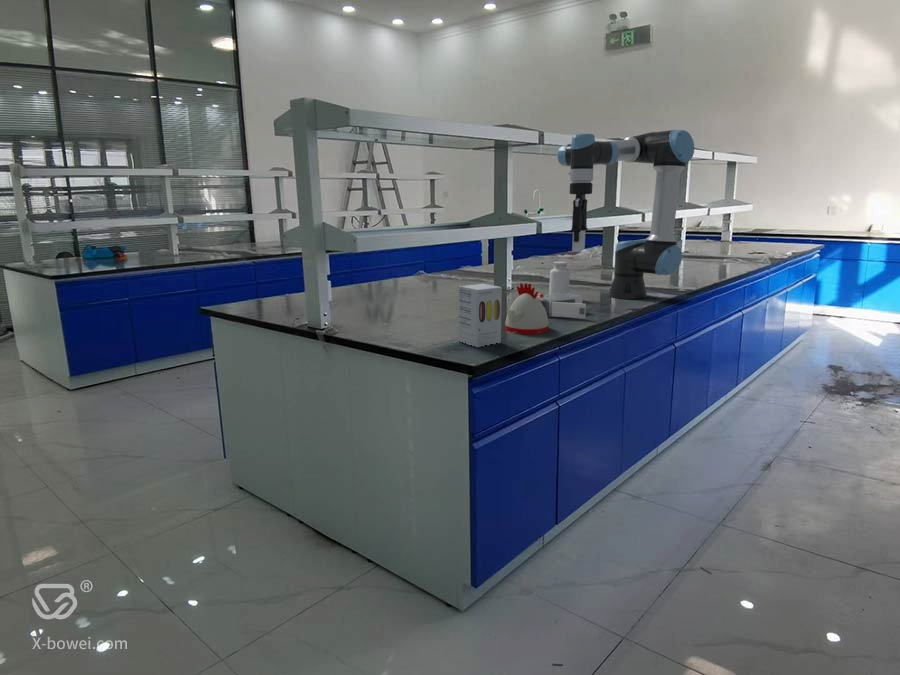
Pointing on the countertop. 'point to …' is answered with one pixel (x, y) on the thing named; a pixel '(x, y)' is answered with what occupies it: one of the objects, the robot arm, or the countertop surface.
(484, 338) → the supplement box
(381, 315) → the countertop surface
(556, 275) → the pill bottle
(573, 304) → the thin white box
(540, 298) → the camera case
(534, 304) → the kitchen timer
